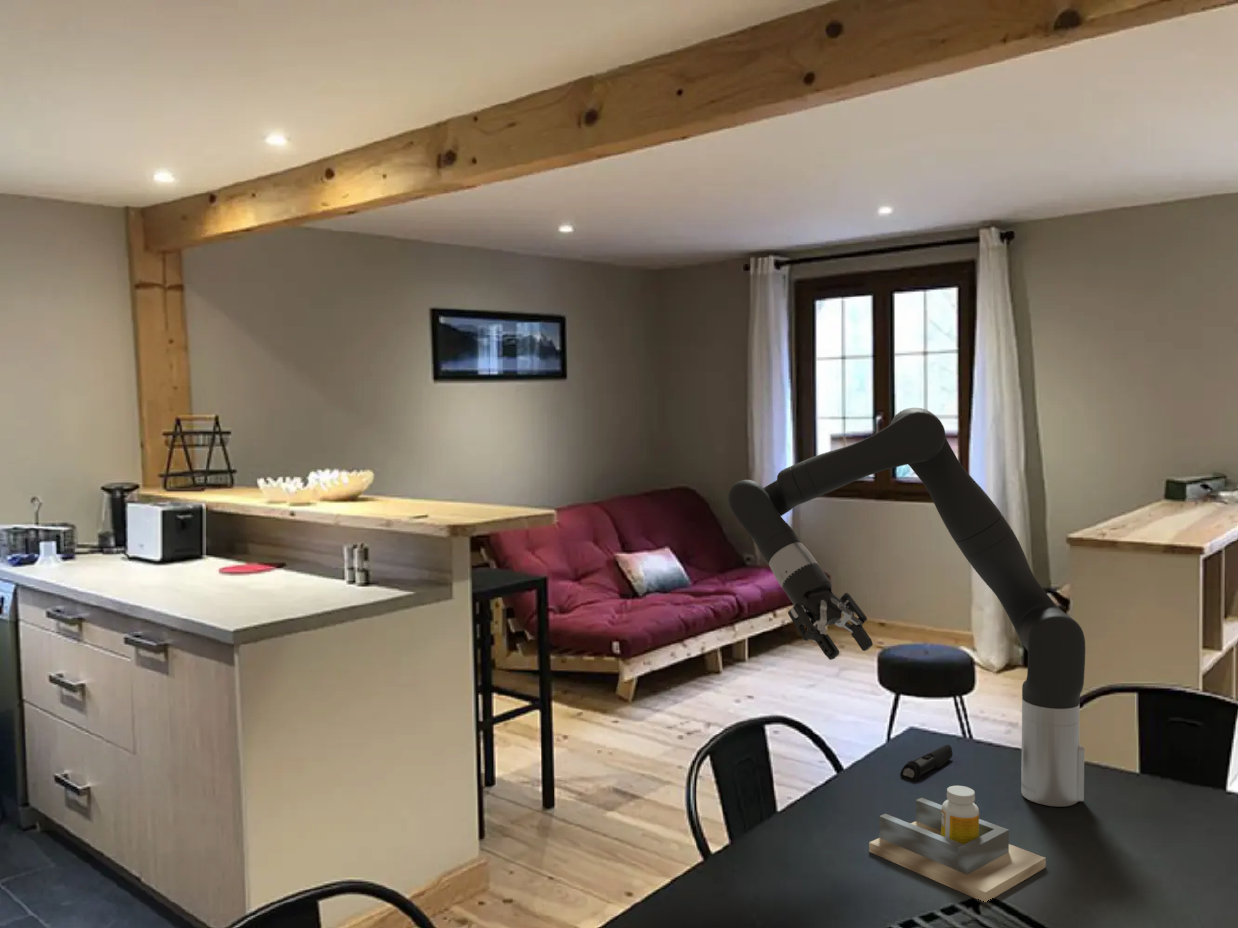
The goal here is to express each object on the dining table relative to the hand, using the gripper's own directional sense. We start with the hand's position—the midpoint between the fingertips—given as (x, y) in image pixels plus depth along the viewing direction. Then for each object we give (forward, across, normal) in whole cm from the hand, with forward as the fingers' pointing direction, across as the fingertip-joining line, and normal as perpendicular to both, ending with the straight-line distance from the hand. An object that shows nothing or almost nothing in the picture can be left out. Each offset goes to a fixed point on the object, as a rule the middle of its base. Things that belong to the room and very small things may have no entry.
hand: (852, 652), depth 162 cm
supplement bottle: (+33, +1, +5) cm, 34 cm away
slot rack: (+34, +1, +7) cm, 34 cm away
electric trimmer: (+17, +29, +25) cm, 41 cm away
